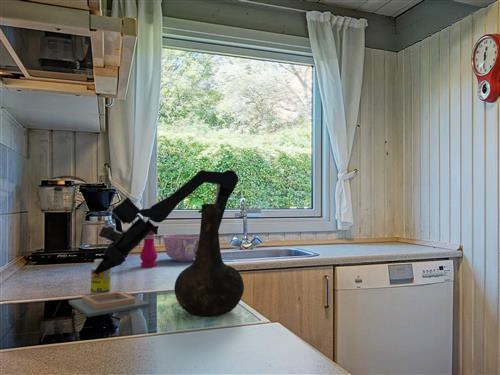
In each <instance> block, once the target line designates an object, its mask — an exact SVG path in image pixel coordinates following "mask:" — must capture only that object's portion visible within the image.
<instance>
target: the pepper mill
mask: <svg viewBox="0 0 500 375" xmlns="http://www.w3.org/2000/svg"><path fill="white" fill-rule="evenodd" d="M148 220H149V221H150V222H151V223H152V222H153V221H152V220H151V219H148ZM152 224H153V223H152ZM153 225H154V226H156V225H155V224H153ZM155 236H156V235H155V234H154V233H153V232H150V233H149V234H148V235H147V236H146V237H145V238H144V239H143V247H142V249H141V252H140V254H139V259H140V260H141V263H140V267H141V268H145V269H146V268H147V269H148V268H149V269H150V268H155V267H157V262H156V260H157V259H158V252H157V250H156V246H155V239H156V237H155Z"/></svg>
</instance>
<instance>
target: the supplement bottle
mask: <svg viewBox="0 0 500 375" xmlns="http://www.w3.org/2000/svg"><path fill="white" fill-rule="evenodd" d="M103 259H104V258H96V259H94V260H93V261H94V262H93V265H92V267H91V273H90V278H91V279H90V294H91V295H97V294H104V293H111V279H112V278H111V275H112V274H111V272H112V271H111V269H112V268H111V269H108V270H106V271H104V272H101V273H99V274H95V273H94V271H95V270H96V268H97V267H98V266H99V264H100V263H101V262H102V260H103Z"/></svg>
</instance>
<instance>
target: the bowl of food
mask: <svg viewBox="0 0 500 375" xmlns="http://www.w3.org/2000/svg"><path fill="white" fill-rule="evenodd" d="M199 237H200V234H188V233H187V234H182V233H181V234H179V233H178V234H165V235H163V236H162V240H163V245H164V249H165V253H166V255H167V257H169V258H170V259H172V260H174V262H179V263H181V262H182V263H184V262H185V263H186V262H192V261H193V260H195V258H194V252H193V250H194V249H195V246H196V240H199Z"/></svg>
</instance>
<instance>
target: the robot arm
mask: <svg viewBox="0 0 500 375" xmlns="http://www.w3.org/2000/svg"><path fill="white" fill-rule="evenodd" d="M238 182H239V176H238V174H237V173H236V172H235V171H234V170H231V169H228V170H224V171H212V170H211V171H210V170H209V171H208V170H205V169H202V170H200V171H198V172H196V174H195V175H194V176H193V177H192V178H190V179H189V180H187V181H186V182H185V183H184V184H182V186H180V187H179V188H177V190H175V191H174V192H172V193H171V194H170V195H169V196H167V197H166V198H165V197H164V199H162V200H160V201H157V203H155V204H153V205H152V206H151V207H148V208H142V209H140V208H139V207H138V206H137V205H136V204H135V203H134V202H133V200H132V199H131V198H130V197H126V198H125V199H124V200H123V201H122V202H120V203H118V204H117V205H116V206H114V208H113V209H111V211H110V212H111V213H112V214H113V216H115V217H116V218H117V220H119V221H120V222H121V223H122V225H125V224H128V225H130V224H131V225H130V226H129V227H128V228H127V229H126V230H123V231H122V232H121V231H119V230H116V229H115V227H112V226H111V225H109V226H108V225H103V226H102V228H101V230H100V232H99V234H98V236H99V237H101V238H105V239H107V240H109V241H110V244H109V246H107V247H106V248H105V249H104V251H103V252H104V253H103V256H104V257H103V258H102V259H103V260H102V262H101V263H100V264H99V266H98V267H97V268H96V270H95V271H94V273H95V274H99V273H101V272H104V271H106V270H108V269H112V268H115V267H118V266H121V265H122V264H123V263H124V262H125V261H126V257H127V256H128V255H130V253H131V252H132V251H133V250H134V249H135V248H136V247H138V246H139V244H140V243H141V242H142V241H144V238H145V237H146V236H147V235H148V234H149V233H150V232H153V233H154V235H155V236H157V235H158V228H159V226H158V225H155V224H154V225H155V226H154V225H153V223H162V222H164V221H165V220H166V218H168V217H169V215H171V213H172V212H173V210H174V209H175V208H176V207H177V206H178V205H179V204H180V203H181V202H182V201H183V200H184V199H186V198H187V197H188V196H189V195H191V194H192V193H193V192H194V191H196V190H197V189H198V188H200V187H201V186H202V185H203V184H204V183H205V184H214V185H216V196H215V198H214V202H213V203H214V204H215V203H216V204H219V206H218V210H220V211H221V213H218V229H220V227H221V224H222V220H223V217H224V214H225V210H226V207H227V204H228V200H229V199H230V197H231V196H232V194H233V192H234V191H235V189H236V186H237V185H238ZM140 215H141V216H140ZM143 217H144V218H149V219H147V220H146V221H145V219H144V218H143ZM137 218H138V219H137ZM136 219H137V220H136ZM149 220H151V221H152V222H153V223H152V222H150V221H149ZM132 222H133V224H132ZM198 243H199V240H196V246H195V249H194V250H193V252H194V258H195V257H196V254H197V249H198Z"/></svg>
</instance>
